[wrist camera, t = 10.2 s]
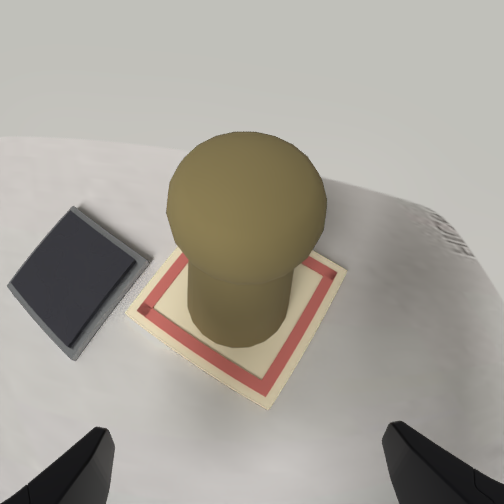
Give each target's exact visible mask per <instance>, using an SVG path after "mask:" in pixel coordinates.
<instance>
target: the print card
mask: <svg viewBox="0 0 504 504" xmlns="http://www.w3.org/2000/svg"><path fill="white" fill-rule="evenodd" d="M346 273H347V270H346V269H344V268H342V267H340V266H339V265H337V264H335V263H334V262H332V261H330V260H328V259H327V258H325V257H323V256H322V255H320V254H318V253H316V252H315V251H313V250H312V251H311V253H310V255H309V256H308V258H307V259H306V260H304V261H303V262H302V263H301V264H299V265H298V266H297V267H296V268H294V273H293V279H292V286H291V293H290V299H289V305H288V309H287V314H286V318H285V320H284V321H283V323H282V325H281V326H280V328H279V329H278V331H277V332H276V333H275V334H273V335H272V336H271V337H270V338H269V339H267V340H266V341H265V342H262V343H260V344H257V345H254V346H252V347H246V348H230V347H226V346H223V345H219V344H216V343H214V342H213V341H211V340H210V339H208V338H207V337H205V336H204V335H202V333H201V332H200V331H199V330H198V328H197V327H196V326H195V324H194V323H193V322H192V319H191V316H190V313H189V310H188V307H187V288H188V258H187V257H186V256H185V255H184V253H183V252H182V251H181V250H180V248H179V247H177V248H176V249H175V250H174V252H173V253H172V254H171V255H170V256H169V258H168V259H167V260H166V261H165V263H164V264H163V265H162V266H161V268H160V269H159V270H158V271H157V272H156V274H155V275H154V276H153V277H152V279H151V280H150V281H149V283H148V284H147V285H146V286H145V288H144V289H143V290H142V291H141V293H140V294H139V295H138V297H137V298H136V299H135V300H134V302H133V303H132V304H131V306H130V307H129V308H128V310H127V311H126V312H125V314H126V315H127V316H129V317H130V318H131V319H133V320H134V321H135V322H136V323H138V324H139V325H140V326H142V327H143V328H144V329H145V330H147V331H148V332H149V333H151V334H152V335H153V336H155V337H156V338H158V339H159V340H160V341H162V342H163V343H164V344H166V345H167V346H168V347H170V348H171V349H173V350H174V351H175V352H177V353H178V354H180V355H181V356H183V357H184V358H185V359H187V360H188V361H190V362H191V363H193V364H194V365H196V366H197V367H199V368H200V369H202V370H203V371H205V372H206V373H208V374H209V375H211V376H212V377H214V378H215V379H217V380H219V381H220V382H222V383H223V384H225V385H226V386H228V387H230V388H231V389H233V390H234V391H236V392H238V393H239V394H241V395H243V396H244V397H246V398H248V399H249V400H251V401H253V402H254V403H256V404H258V405H260V406H261V407H263V408H265V409H267V410H269V409H270V408H271V406H272V405H273V403H274V401H275V400H276V398H277V397H278V395H279V393H280V392H281V390H282V389H283V387H284V385H285V384H286V382H287V380H288V379H289V377H290V376H291V374H292V372H293V371H294V369H295V367H296V365H297V364H298V362H299V360H300V359H301V357H302V355H303V353H304V352H305V350H306V348H307V346H308V345H309V343H310V341H311V339H312V338H313V336H314V334H315V332H316V330H317V329H318V327H319V325H320V323H321V321H322V319H323V318H324V316H325V314H326V312H327V310H328V308H329V306H330V304H331V303H332V301H333V299H334V297H335V295H336V293H337V291H338V289H339V287H340V285H341V283H342V281H343V279H344V277H345V275H346Z"/></svg>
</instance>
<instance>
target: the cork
mask: <svg viewBox="0 0 504 504" xmlns="http://www.w3.org/2000/svg"><path fill="white" fill-rule="evenodd" d="M326 209H327V198H326V194H325V190H324V186H323V182H322V179H321V177H320V175H319V173H318V172H317V170H316V169H315V167H314V166H313V164H312V163H311V161H310V160H309V158H308V157H307V156H306V155H305V154H304V153H302V152H301V151H300V150H299V149H298V148H296V147H295V146H294V145H293V144H290V143H288V142H286V141H284V140H282V139H280V138H278V137H276V136H272V135H268V134H263V133H258V132H232V133H227V134H223V135H218V136H215V137H213V138H211V139H209V140H207V141H205V142H203V143H201V144H199V145H198V146H196V147H195V148H194V149H193V150H192V151H191V152H190V153H189V154H188V155H187V156H186V157H185V158H184V159H183V160H182V161H181V163H180V164H179V166H178V167H177V169H176V171H175V173H174V175H173V177H172V179H171V181H170V184H169V191H168V199H167V210H166V214H167V217H168V221H169V224H170V227H171V231H172V234H173V237H174V240H175V243H176V244H177V246H178V247H179V248H180V250H181V251H182V252H183V253H184V255H185V256H186V257H187V258H188V288H187V307H188V310H189V313H190V316H191V319H192V322H193V323H194V324H195V326H196V327H197V328H198V330H199V331H200V332H201V333H202V335H204V336H205V337H207V338H208V339H210V340H211V341H213V342H214V343H216V344H219V345H223V346H226V347H230V348H246V347H252V346H254V345H257V344H260V343H262V342H265V341H266V340H267V339H269V338H270V337H271V336H272V335H273V334H275V333H276V332H277V331H278V329H279V328H280V326H281V325H282V323H283V321H284V320H285V318H286V314H287V309H288V305H289V299H290V293H291V286H292V279H293V273H294V268H296V267H297V266H298V265H299V264H301V263H302V262H303V261H304V260H306V259H307V258H308V256H309V255H310V253H311V251H312V250H313V248H314V246H315V245H316V243H317V241H318V240H319V238H320V236H321V234H322V232H323V230H324V223H325V217H326Z"/></svg>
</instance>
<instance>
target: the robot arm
mask: <svg viewBox="0 0 504 504" xmlns="http://www.w3.org/2000/svg"><path fill="white" fill-rule="evenodd" d="M382 445H383V449H384V453H385V457H386V462H387V466H388V470H389V474H390V478H391V481H392V484H393V487H394V490H395V493H396V495H397V498H398V501H399V504H504V484H502V483H500V482H498V481H496V480H494V479H491V478H490V477H488V476H486V475H484V474H483V473H481V472H479V471H478V470H476V469H473V467H471V466H470V465H468V464H466V463H465V462H463V461H462V460H460V459H458V458H457V457H455V456H454V455H452V454H451V453H449V452H448V451H446V450H444V449H443V448H441V447H440V446H438V445H437V444H435V443H434V442H432V441H431V440H429V439H428V438H426V437H425V436H423V435H422V434H420V433H419V432H417V431H416V430H414V429H413V428H411V427H410V426H408V425H407V424H406V423H404V422H402V421H395V422H391V423H390V424H389V425H388V427H387V429H386V431H385V433H384V435H383V438H382ZM114 452H115V445H114V442H113V439H112V437H111V435H110V432H109V430H108V429H107V428H102V427H95V428H93V429H92V430H91V431H90V432H89V433H87V434H86V435H85V436H84V437H83V438H82V439H81V440H79V441H78V442H77V443H76V444H75V445H73V446H72V447H71V448H70V449H69V450H68V451H66V452H65V453H64V454H63V455H62V456H60V457H59V458H58V459H57V460H56V461H55V462H53V463H52V464H51V465H50V466H49V467H47V468H46V469H45V470H44V471H43V472H41V473H40V474H39V475H38V476H37V477H35V478H34V479H33V480H32V481H30V482H29V483H28V485H25V486H24V487H23V488H22V489H21V490H19V491H18V492H17V493H15V494H14V495H13V496H11V497H10V498H8V499H7V500H5V501H4V502H2V503H1V504H106V501H107V497H108V493H109V488H110V482H111V474H112V466H113V459H114Z"/></svg>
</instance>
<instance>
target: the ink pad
mask: <svg viewBox="0 0 504 504" xmlns="http://www.w3.org/2000/svg"><path fill="white" fill-rule="evenodd" d="M148 265H149V263H148V261H147V260H146V259H145V258H144V257H142V256H141V255H139V254H138V253H136V252H135V251H134V250H132V249H131V248H129V247H128V246H127V245H125V244H124V243H123V242H121V241H120V240H118V239H117V238H116V237H114V236H113V235H112V234H110V233H109V232H107V231H106V230H105V229H103V228H102V227H101V226H99V225H98V224H97V223H95V222H94V221H93V220H91V219H90V218H89V217H87V216H86V215H85V214H83V213H82V212H81V211H80V210H78V209H77V208H76V207H74V206H72V207H71V208H70V209H69V211H68V212H67V213H66V214H65V215H64V216H63V217H62V218H61V219H60V220H59V222H58V223H57V224H56V225H55V226H54V227H53V228H52V230H51V231H50V232H49V233H48V234H47V235H46V237H45V238H44V239H43V240H42V241H41V242H40V244H39V245H38V246H37V247H36V249H35V250H34V251H33V252H32V253H31V255H30V256H29V257H28V258H27V260H26V261H25V262H24V264H23V265H22V266H21V267H20V269H19V270H18V271H17V273H16V274H15V275H14V277H13V278H12V279H11V281H10V282H9V284H8V285H7V287H8V288H9V290H10V291H11V292H12V294H13V295H14V296H15V297H16V299H17V300H18V301H19V302H20V304H21V305H22V306H23V307H24V308H25V310H26V311H27V312H28V313H29V314H30V316H31V317H32V318H33V319H34V320H35V321H36V323H37V324H38V325H39V326H40V327H41V328H42V329H43V330H44V332H45V333H46V334H47V335H48V336H49V337H50V338H51V339H52V340H53V341H54V342H55V343H56V344H57V346H58V347H59V348H60V349H61V350H62V351H63V352H64V353H65V354H66V355H67V356H68V357H69V358H70V359H71V360H74V361H76V360H77V358H78V357H79V355H80V354H81V353H82V351H83V350H84V348H85V347H86V346H87V344H88V343H89V341H90V340H91V339H92V337H93V336H94V335H95V333H96V332H97V331H98V329H99V328H100V326H101V325H102V324H103V322H104V321H105V320H106V319H107V317H108V316H109V315H110V313H111V312H112V311H113V309H114V308H115V307H116V305H117V304H118V303H119V302H120V300H121V299H122V298H123V296H124V295H125V294H126V293H127V291H128V290H129V289H130V287H131V286H132V285H133V284H134V282H135V281H136V280H137V279H138V277H139V276H140V275H141V274H142V272H143V271H144V270H145V269H146V267H147V266H148Z"/></svg>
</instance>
